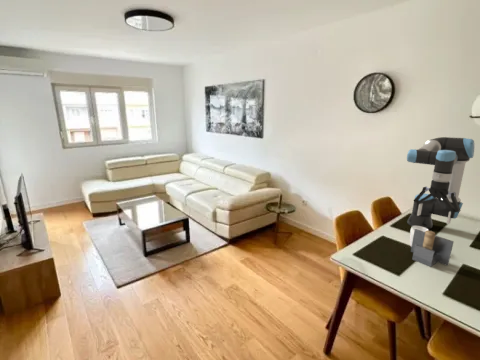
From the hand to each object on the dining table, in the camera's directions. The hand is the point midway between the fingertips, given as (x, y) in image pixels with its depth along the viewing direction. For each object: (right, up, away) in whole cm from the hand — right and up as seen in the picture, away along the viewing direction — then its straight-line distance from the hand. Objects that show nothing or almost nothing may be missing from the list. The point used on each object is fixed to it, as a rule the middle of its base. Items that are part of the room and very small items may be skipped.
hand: (432, 219), depth 139 cm
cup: (+6, -20, +21) cm, 30 cm away
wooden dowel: (0, -21, +5) cm, 22 cm away
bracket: (0, -24, +6) cm, 25 cm away
